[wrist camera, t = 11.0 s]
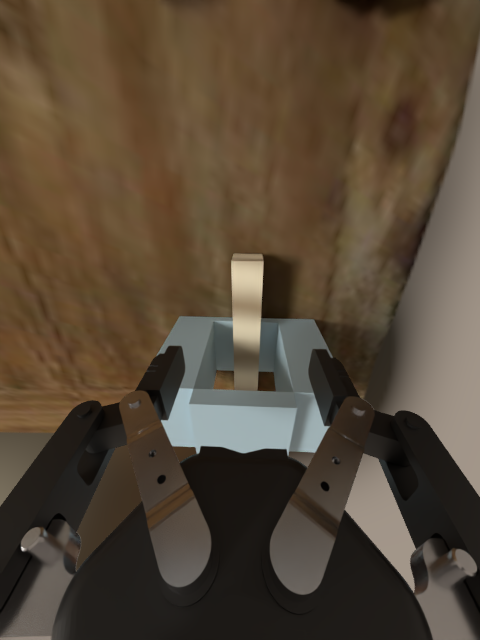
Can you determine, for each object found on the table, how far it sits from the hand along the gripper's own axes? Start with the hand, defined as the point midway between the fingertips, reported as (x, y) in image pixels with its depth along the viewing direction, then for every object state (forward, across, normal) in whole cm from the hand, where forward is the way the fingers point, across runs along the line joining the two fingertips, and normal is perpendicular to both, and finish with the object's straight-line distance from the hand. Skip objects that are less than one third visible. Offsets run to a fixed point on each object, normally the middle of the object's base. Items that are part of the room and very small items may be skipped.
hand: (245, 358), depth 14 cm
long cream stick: (+13, 0, +8) cm, 15 cm away
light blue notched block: (+14, 0, +9) cm, 16 cm away
